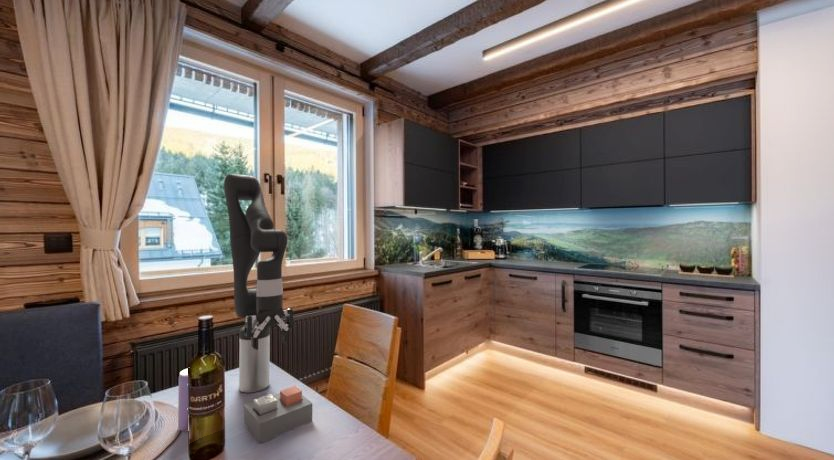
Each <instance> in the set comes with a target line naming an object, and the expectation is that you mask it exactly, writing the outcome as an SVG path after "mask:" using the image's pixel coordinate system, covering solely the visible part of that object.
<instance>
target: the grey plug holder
mask: <svg viewBox="0 0 834 460" xmlns="http://www.w3.org/2000/svg"><path fill="white" fill-rule="evenodd" d="M272 396H273V397H275V398H276V399H277V410H275V411H272V412H269V413H267V414H264V415H261V416H258V415H257V413H256V412H255V411H254V401H252V402H250V403H247V404H244V405H243V406H244V407H243V424H244V425H245V426H246V428H247V429H248V431H249V432H250V433H251V434H252V436H253V438H255V440H256V441H257V442H258V443H259V444H263V443H265V442H267V441H270V440H272V439H274V438H278V436H281V435H284V434H286V433H288V432H290V431H293V430H295V429H297V428H300V427H302V426H305V425H306V424H308V423H311V422H313V402H312V401H310V400H309V399H308V398H307V397H305V396H304V395H303V394H302V400H301V401H299V402H296V403H293V404H291V405H288V406H285V405H284V404H283V403H282V402H281V401H280V392H279V393H277V394H273V395H272Z"/></svg>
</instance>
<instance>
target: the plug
mask: <svg viewBox="0 0 834 460" xmlns="http://www.w3.org/2000/svg"><path fill="white" fill-rule="evenodd" d="M253 402H254V411H255V412H256V413H257V415H258V416H261V415H264V414H267V413H269V412H272V411H275V410H277V399H276V398H275V397H273V395H272V394H271V393H270V394H266V395H263V396H261V397H258V398H255V399H253Z"/></svg>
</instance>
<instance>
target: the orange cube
mask: <svg viewBox="0 0 834 460" xmlns="http://www.w3.org/2000/svg"><path fill="white" fill-rule="evenodd" d="M279 393H280V401H281V402H282V403H283V404H284V405H285V406H288V405H291V404H293V403H296V402H299V401H301V400H302V395H303V391H302V390H301V389H300V387H298V386H297V385H293V386H290V387H288V388H284V389H282V390H279Z"/></svg>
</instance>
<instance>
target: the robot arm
mask: <svg viewBox="0 0 834 460" xmlns="http://www.w3.org/2000/svg"><path fill="white" fill-rule="evenodd" d="M223 188H224V195H225V202H226V207H227V213H228V223H229V225H228V226H229V240H230V241H229V242H230V250H231V252H230V253H231V258H232V268H233V270H232V271H233V301H234V305H233V306H234V312H235V315H236V316H237V318H239V319H244V325H243V327H241V328H240V329H239V356H238V357H239V358H238V359H239V360H238V364H239V365H238V366H239V367H238V368H239V369H238V371H239V375H238V376H239V377H238V390H239V391H240V392H242V393H255V392H260V391H262V390H265V389H266V388H267V387H269V385H270V363H271V361H270V360H271V358H270V356H271V355H270V352H271V351H270V349H271V348H270V346H271V345H270V342H271V340H270V339H271V338H270V336H271V335H270V333H271V332H270V331H271V327H276V326H278V327H280V329H281V330H280V342H281V343H282V344H285V343H287V341H288V340H289V332H288V331H289V330H290V329H291V328H294V326H295V325H294V323H295V322H294V310H293V309H292V308H286V309H283V307H284V300H283V299H284V298H283V297H284V295H283V294H284V293H283V292H284V288H283V287H284V285H283V279H282V278H283V276H282V275H283V273H282V268H283V267H282V265H283V260H284V256H285V253H286V249H287V245H288V235H287V233H286V232H285V231H284V230H282V229H274V226H275V225H274V222H273V219H272V217H271V216H270V214H269V211H268V210H267V207H266V203H265V198H264V195H263V192H262V191H263V190H262V187H261V184H260V182H259V179H258V178H257V177H255V176H251V175H244V174H235V173H229V174H226V176H225V178H224V183H223ZM240 201H251V203H250V204H249V206H248V207H247V208H246V211H245V213H244V211H243V208H242V207H241V204H240ZM261 253H272V254H271V256H270V257H268V258H267V259H262V260H259V261H258V262H257V264H256V261H257V260H258V258H259V256H260V254H261ZM255 264H256V287H255V288H250V289H249V288H248V286H247V285H248V277H249V274H250V272H251V270H252V268H253V266H254V265H255ZM283 316H285V317H286V318H285V319H286V323H285V322H284V320H283V319H282V318H283Z"/></svg>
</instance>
